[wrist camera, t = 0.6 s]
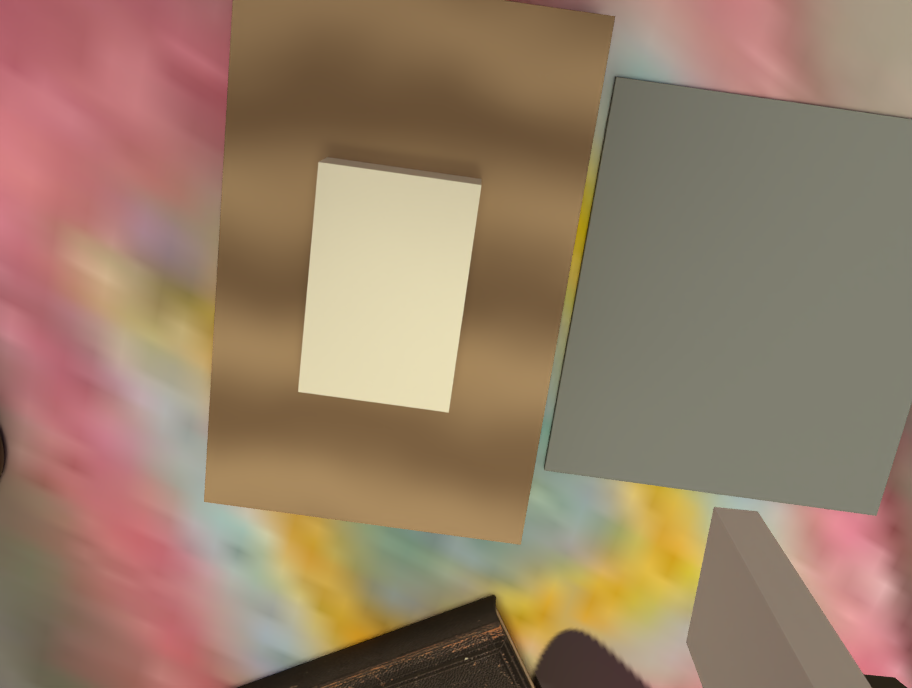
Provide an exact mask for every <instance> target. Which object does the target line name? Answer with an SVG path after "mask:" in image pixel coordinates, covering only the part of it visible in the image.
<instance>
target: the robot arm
mask: <svg viewBox="0 0 912 688" xmlns="http://www.w3.org/2000/svg"><path fill="white" fill-rule="evenodd" d="M686 643H687V646H688V648H689V651H690V654H691V656H692V659H693V662H694V664H695V667H696V670H697V672H698V675H699V678H700V681H701V683H702V686H703V688H907V687H906V686H904V685H903V684H902V683H901V682H899V681H898V680H897V679H896V678H893V677H883V676H873V675H864V674H863V673H862V672H861V670H860V668H859V667H858V665H857V664H856V662H855V661H854V659H853V658H852V656H851V655H850V653H849V652H848V650H847V648H846V647H845V645H844V644H843V642H842V641H841V639H840V638H839V636H838V635H837V633H836V631H835V630H834V628H833V627H832V625H831V624H830V622H829V621H828V619H827V618H826V616H825V615H824V613H823V611H822V610H821V608H820V607H819V605H818V604H817V602H816V601H815V599H814V598H813V596H812V595H811V593H810V591H809V590H808V588H807V587H806V585H805V584H804V582H803V581H802V579H801V578H800V576H799V574H798V573H797V571H796V570H795V568H794V567H793V565H792V564H791V562H790V561H789V559H788V558H787V556H786V554H785V553H784V551H783V550H782V548H781V547H780V545H779V544H778V542H777V541H776V539H775V538H774V536H773V534H772V533H771V531H770V530H769V528H768V527H767V525H766V524H765V522H764V521H763V519H762V517H761V516H760V514H759V513H758V512H757V511H748V510H738V509H728V508H718V507H714V509H713V514H712V519H711V524H710V529H709V534H708V539H707V544H706V548H705V553H704V558H703V563H702V568H701V573H700V578H699V582H698V587H697V592H696V597H695V602H694V607H693V612H692V617H691V621H690V626H689V631H688V636H687V641H686Z"/></svg>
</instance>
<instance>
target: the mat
mask: <svg viewBox="0 0 912 688" xmlns="http://www.w3.org/2000/svg"><path fill="white" fill-rule="evenodd" d="M911 403H912V119H906V118H899V117H892V116H885V115H878V114H871V113H864V112H857V111H850V110H843V109H836V108H829V107H822V106H815V105H808V104H801V103H794V102H787V101H781V100H774V99H767V98H760V97H753V96H746V95H739V94H732V93H725V92H718V91H711V90H704V89H697V88H690V87H683V86H676V85H669V84H662V83H655V82H648V81H641V80H634V79H628V78H621V77H615V83H614V88H613V94H612V99H611V105H610V110H609V115H608V121H607V126H606V132H605V137H604V143H603V148H602V154H601V159H600V165H599V170H598V176H597V181H596V187H595V192H594V198H593V203H592V208H591V214H590V219H589V225H588V230H587V236H586V241H585V247H584V252H583V258H582V263H581V269H580V274H579V280H578V285H577V291H576V296H575V301H574V307H573V312H572V318H571V323H570V329H569V334H568V340H567V345H566V351H565V356H564V362H563V367H562V373H561V378H560V384H559V389H558V394H557V400H556V405H555V411H554V416H553V422H552V427H551V433H550V438H549V444H548V449H547V455H546V460H545V466H544V470H546V471H553V472H560V473H568V474H575V475H582V476H590V477H597V478H604V479H612V480H619V481H626V482H634V483H641V484H648V485H656V486H663V487H670V488H677V489H685V490H692V491H699V492H707V493H714V494H721V495H729V496H736V497H743V498H751V499H758V500H765V501H773V502H780V503H787V504H795V505H802V506H809V507H816V508H824V509H831V510H838V511H846V512H853V513H860V514H868V515H875V516H876V515H877V512H878V509H879V506H880V502H881V499H882V496H883V493H884V490H885V486H886V483H887V480H888V477H889V474H890V470H891V467H892V464H893V461H894V458H895V454H896V451H897V448H898V445H899V442H900V438H901V435H902V432H903V429H904V425H905V422H906V419H907V416H908V413H909V409H910V406H911Z"/></svg>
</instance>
